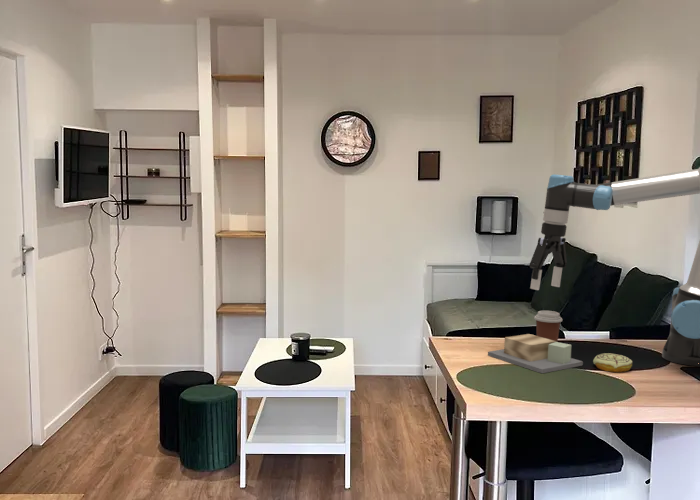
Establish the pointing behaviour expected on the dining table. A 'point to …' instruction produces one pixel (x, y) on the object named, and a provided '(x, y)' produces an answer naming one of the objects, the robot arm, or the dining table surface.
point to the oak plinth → (527, 347)
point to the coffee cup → (548, 324)
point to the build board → (534, 362)
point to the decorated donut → (612, 362)
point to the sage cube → (559, 352)
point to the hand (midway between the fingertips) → (545, 287)
